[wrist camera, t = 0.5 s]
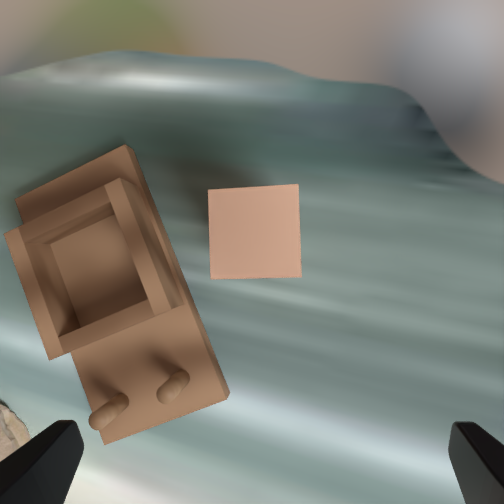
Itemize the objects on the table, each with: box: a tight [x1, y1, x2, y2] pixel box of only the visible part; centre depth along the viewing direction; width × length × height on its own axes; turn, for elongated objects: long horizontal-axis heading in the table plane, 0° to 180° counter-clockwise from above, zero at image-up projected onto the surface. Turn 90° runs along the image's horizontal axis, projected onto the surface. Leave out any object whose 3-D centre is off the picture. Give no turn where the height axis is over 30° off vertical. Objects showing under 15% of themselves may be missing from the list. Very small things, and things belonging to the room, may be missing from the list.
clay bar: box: [208, 184, 302, 279], centre depth 20 cm, size 4×4×10 cm
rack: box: [4, 144, 230, 445], centre depth 24 cm, size 20×10×4 cm, turn 23°
